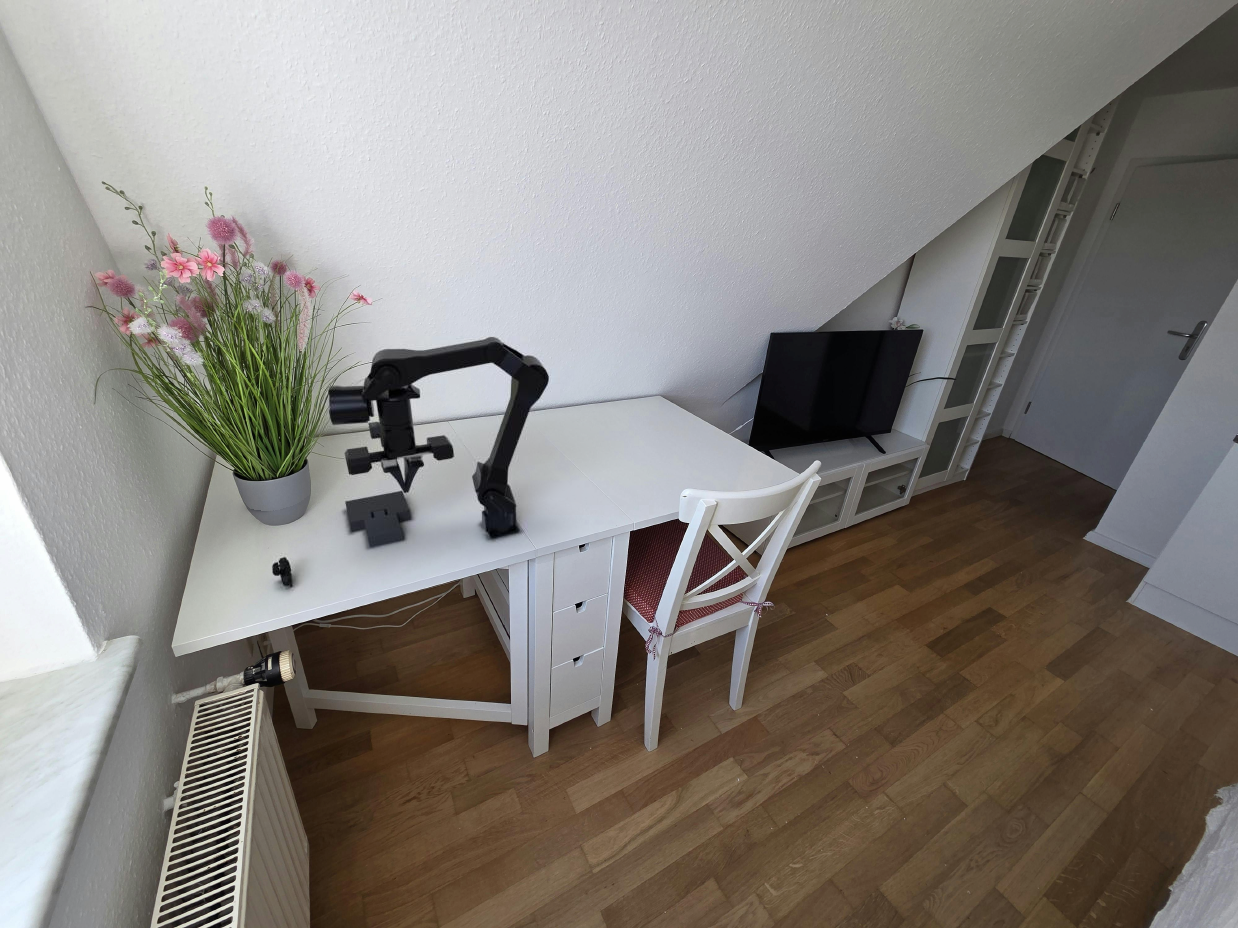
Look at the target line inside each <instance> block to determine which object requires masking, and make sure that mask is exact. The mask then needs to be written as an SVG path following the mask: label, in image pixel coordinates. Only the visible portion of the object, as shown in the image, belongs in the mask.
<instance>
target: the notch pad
mask: <svg viewBox="0 0 1238 928" xmlns="http://www.w3.org/2000/svg"><path fill="white" fill-rule="evenodd" d="M344 504H345V509H346V514H347V518H348V524H349V527H350V533H354V532H359V531H363V530H366V528H365V523H364V520H365V519H370V518H374V514H373V512H375V511H380V510H384V511H385V515H389V514H394V513H396V514H397V517H398V521H399V523H400V522H404V521H410V520H411V512H410V507H409V505H408V503H407V500H406V497H405V493H404V492H403V490H398V491H394V492H387V493H382V494H378V495H377V494H376V495H372V496H365V497H361V498H356V499H349V500H345V502H344Z"/></svg>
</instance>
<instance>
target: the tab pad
mask: <svg viewBox="0 0 1238 928" xmlns="http://www.w3.org/2000/svg"><path fill="white" fill-rule="evenodd" d="M373 514H374V518H370V519H365V520H364V523H365V528H366V529H365V532H366V537H367V540H368V545H369V548H374V547H378V546H382V545H386V544H390V543H395V542H400V541H403V540H404V537H403V530H402V526H401V523H400V522H399V521H398V517H397V514H396V513H394V514H389V515H385V511H384V510H380V511H375V512H373Z"/></svg>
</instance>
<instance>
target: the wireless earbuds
mask: <svg viewBox="0 0 1238 928" xmlns="http://www.w3.org/2000/svg"><path fill="white" fill-rule="evenodd" d="M271 570H272V574H273V576H274V577H278V576H280V581H281V583H282V585H283V586H284V587H289V588H293V587H294V585H293V574H292V568H291V564H290V561H289V560H288V559H287V557H286V556H283V557H280V558H279V559H278V561H275V562H274V563H273V564H272V565H271Z"/></svg>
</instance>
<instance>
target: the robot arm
mask: <svg viewBox="0 0 1238 928" xmlns="http://www.w3.org/2000/svg"><path fill="white" fill-rule="evenodd" d="M487 364H493V365H495V366H496V367H498V368H499V369H501V370H502V371H503V372H505V373H506V374H507V375H509V376H510V377H511V379H510V395H509V400H508V403H507V406H506V408H505V412H504V414H503V417H502V420H501V423H500V426H499V429H498V432H497V435H496V437H495V440H494V442H493V446H492V449H491V452H490V455H489V457H488V459H487V460H486V461H484V462H480V461H477V462H476V469H475V471H474V473H473V475H472V476H471V479H472V483H473V486H474V491H475V494H476V498H477V501H478V502H479V504H480V505H481V506H482V507H483V510H481V524H482V525H481V526H482V528H483V530H484V531H485V533H487V535H488V537H489V538H490V539H497V538H501V537H505V536H508V535H513V534H516V533H519V532H520V528H519V527H518V525H517V503H516V500H515V497H514V494H513V491H512V488H511V486H510V484H509V483H508V482H509V468H510V465H511V462H512V460H513V457H514V455H515V452H516V449H517V446H518V443H519V440H520V438H521V436H522V432H523V429H524V427H525V425H526V422H527V419H528V416H529V414H530V410H531V409H532V407H534V405H535V404H536V403H537V402H538V401H539V400H540V399H541V397H542V395H543V394H544V392H545V391H546V388H547V387H548V384H549V382H550V376H549V373H548V371H547V370H546V368H545V366H544V365H543V364H542V362H541V361H540V360H539V359H538V358H537V357H535V356H533V355H529V354H528V355H525V354H523V353H521V352H520V351H518V350H517V349H515V348H513V347H511V346H509V345H508V344H506V343H505V342H503V341H502V340H500V339H499V338H498V337H496V336H488V337H486V338H484V339H479V340H473V341H467V342H463V343H457V344H451V345H445V346H440V347H435V348H429V349H424V350H423V349H422V350H420V349H410V348H409V349H408V348H385V349H381V350H378V351H377V352H376V353H375V354H374V356H373V357H372V359H371V364H370V365H371V366H370V372H369V374H368V375H367V376H366V377H365V378H364V381H363V385H350V386H349V385H348V386H347V385H346V386H341V385H330V386H329V387H328V390H327V392H328V405H329V408H328V409H329V410H328V414H329V419H330V423H331V425H332V426H339V425H341V426H342V425H356V424H368V429H369V436H370V439H372V440H375V439H379V440H380V445H381V448H383V450H378V451H372V452H369V449H368V446H360V447H354V448H347V449H346V450H345V452H344V458H345V461H346V462H345V463H346V467H347V472H348V475H350V476H357V475H361V474H367V473H370V471H371V470H372V469H373V464H375V463H380V466H381V468H382V472H383V473H384V474H390V475H391V476H392V477H393V478H394V479H395V480H396V482H397V483H398V485H399V487H400V488H401V491H403V494H408V493H409V492H410V490H411V487H412V484H413V482H414V478H415V476H416V475H417V473H418V471H419V470H420V468H423V467H424V466H425V462H424V461H423V456H425V455H430V454H432V458H433V459H435V460H437V461H438V462H439V461H445V460H451V459H454V457H455V453H454V446H453V444H452V442H451V440H450V439H449V437H447V436H446V435H444V434H443V435H442V434H441V435H436V436H429V437H426V444H417V443H416V435H415V428H414V419H413V411H412V404H411V400H415V399H420V398H421V390H420V388H419V387H417V386H415V385H414V383H416V382H418V381H419V380H421V379H423V378H425V377H428V376H430V375H435V374H436V375H437V374H441V373H447V372H452V371H456V370H457V371H458V370H463V369H467V368H472V367H477V366H482V365H487ZM374 401H375V403H376V409H377V416H378V421H371V418H374V417H375V407H374V406H375V405H374ZM370 421H371V422H370ZM400 459H403V466H404V468H403V473H404V475H403V473H402V470H401V466H400V464H399V461H398V460H400ZM403 476H404V477H403Z"/></svg>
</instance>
